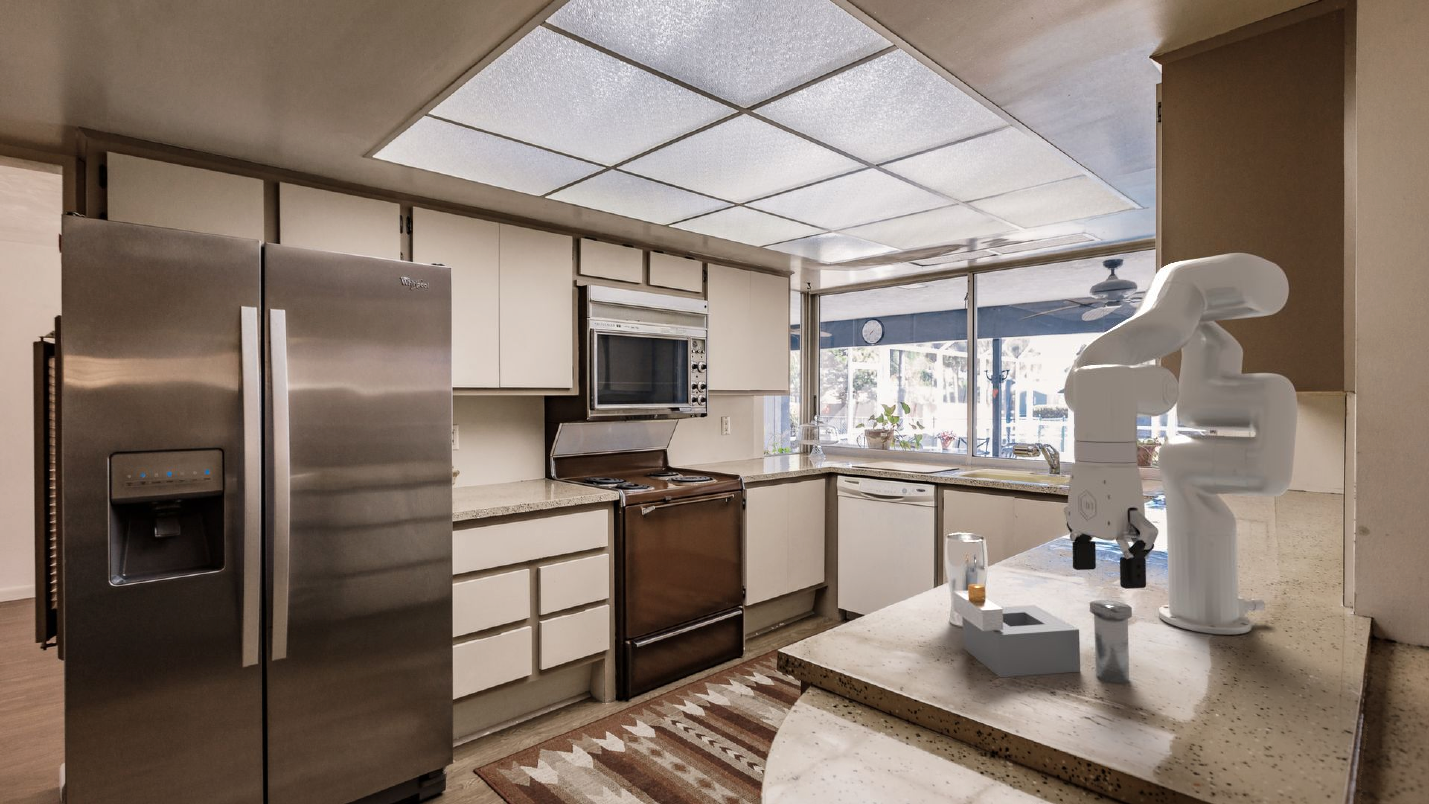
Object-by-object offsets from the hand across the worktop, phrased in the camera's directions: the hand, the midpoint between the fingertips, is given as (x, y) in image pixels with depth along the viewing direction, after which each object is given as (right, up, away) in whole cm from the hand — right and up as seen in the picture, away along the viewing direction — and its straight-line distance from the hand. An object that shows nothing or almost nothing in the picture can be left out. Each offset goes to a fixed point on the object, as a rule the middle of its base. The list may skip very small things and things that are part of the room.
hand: (1107, 578), depth 90 cm
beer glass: (-10, -14, +24) cm, 29 cm away
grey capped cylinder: (+1, -14, +1) cm, 14 cm away
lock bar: (-15, -8, +7) cm, 19 cm away
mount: (-9, -14, +8) cm, 18 cm away
